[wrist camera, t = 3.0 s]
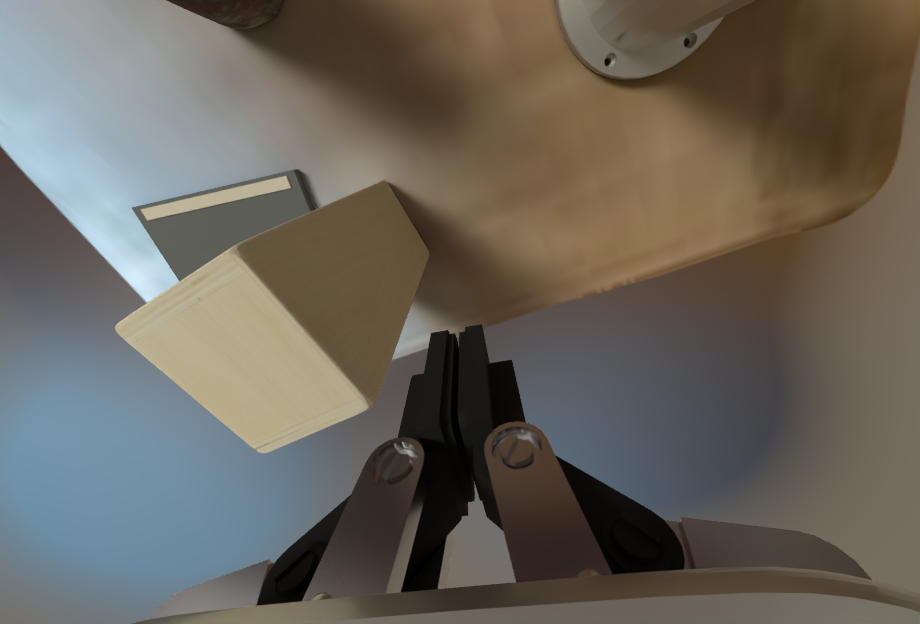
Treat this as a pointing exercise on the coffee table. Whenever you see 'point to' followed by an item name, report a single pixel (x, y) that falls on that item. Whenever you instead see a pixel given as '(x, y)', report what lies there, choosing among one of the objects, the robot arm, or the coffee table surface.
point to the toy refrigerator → (290, 319)
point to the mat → (221, 218)
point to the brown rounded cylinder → (233, 11)
